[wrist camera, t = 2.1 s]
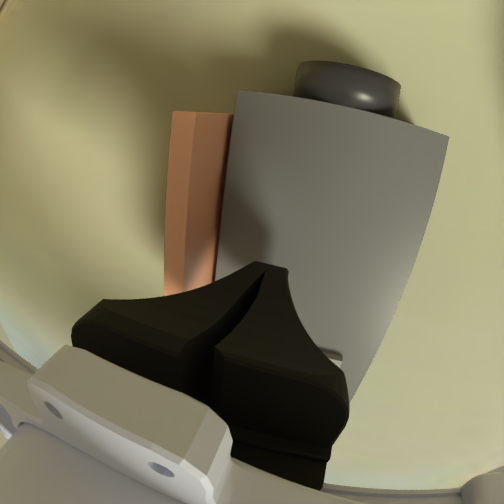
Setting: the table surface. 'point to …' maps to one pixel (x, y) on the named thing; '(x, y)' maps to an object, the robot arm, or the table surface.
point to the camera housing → (331, 202)
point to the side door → (194, 198)
